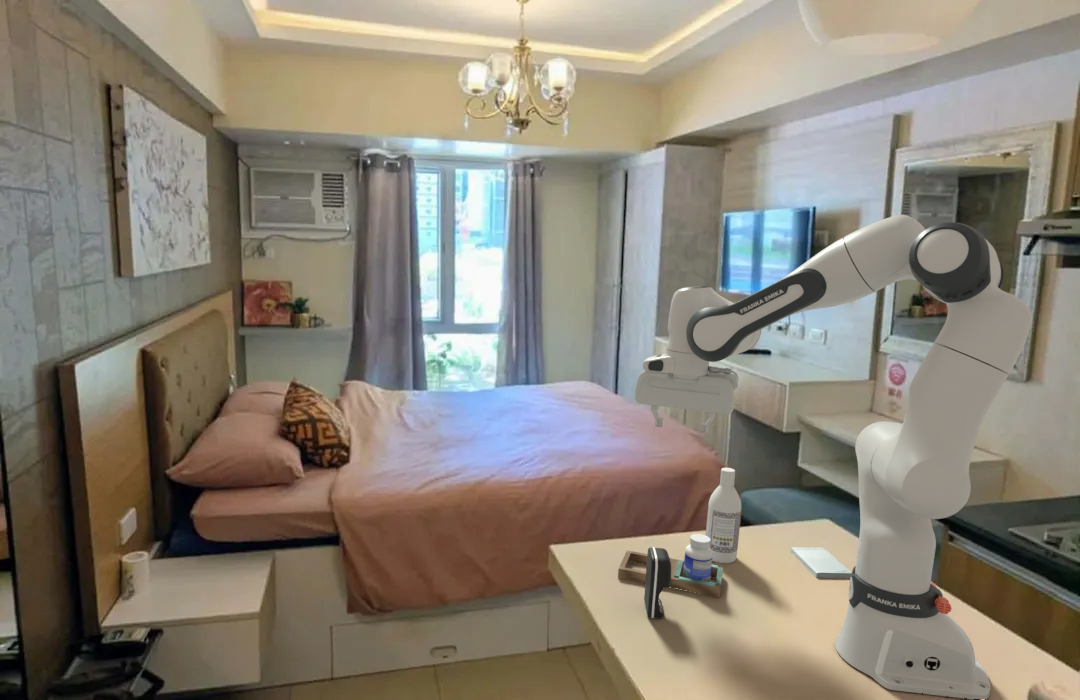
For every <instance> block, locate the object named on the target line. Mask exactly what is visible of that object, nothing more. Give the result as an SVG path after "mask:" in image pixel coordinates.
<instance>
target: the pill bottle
mask: <svg viewBox="0 0 1080 700" xmlns="http://www.w3.org/2000/svg"><path fill="white" fill-rule="evenodd" d="M710 543H711V539H710V538H709V537H708V536H706V534H701V533H694V534H691V535H690V536H689V544H688V545H687V546H686V547H685V549H684V558H683V561H684V569H683V572H682V577H685V578H690V579H695V580H701V581H706V582H711V577H710V575H711V566H712V565H713V564H712V563H713V561H712V557H713V552H712V550H711V548H709V547H710Z"/></svg>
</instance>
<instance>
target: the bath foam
mask: <svg viewBox="0 0 1080 700" xmlns="http://www.w3.org/2000/svg"><path fill="white" fill-rule="evenodd" d="M735 477H736V470H735V469H734V468H731V467H722V468H721V470H720V477H719V478H720V479H719V481H720V482H719V485H718V486H717V487H716V488H715V489H714V490H713V492H712V493H711V495H710V498H709V500H708V504H707V505H708V506H707V516H706V528H705V535H706V536H708V537H709V538H710V539H711V543H710V547H709V548H711V550H712V552H713V557H712V562H715V563H720V564H731V563H733V562H735V561H736V559H737V555H738V548H739V539H740V538H739V536H740V527H741V516H742V501H741V498H740V495H739V494H738V491H737V490H736V488H735V479H736V478H735Z"/></svg>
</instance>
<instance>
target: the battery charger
mask: <svg viewBox="0 0 1080 700" xmlns="http://www.w3.org/2000/svg"><path fill="white" fill-rule="evenodd" d="M647 554H648V555H647V565H646V570H645V571H646V582H645V583H644V584H645V585H644V586H645V587H644V595H643V596H644V597H643V598H644V599H643V601H644V605H645V611H646V615H647V618H650V619H663V618H664V617H665V609H664V606H663V602H662V599H661V598H660V594H661V593H662V592H663V591H664V589H670V588H669V587H670V585H671V562H670V558H671V557H670V555H669V553H668V550H667V549H665V548H662V547H655V546H651V547H648V548H647Z"/></svg>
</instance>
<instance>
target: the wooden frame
mask: <svg viewBox="0 0 1080 700" xmlns="http://www.w3.org/2000/svg"><path fill="white" fill-rule="evenodd" d="M647 555H648V553H643V552H639V551H633V550H628V549H627V550H626V552H625V554H624V556H623V558H622V560H621V562H620V565H619V567H618V570H617V571H618V572H617V573H618V574H617V579H623V580H626V581H631V582H636V583H642V584H645V582H646V570H640V569H634V568H630V567H629V565H630V564H631V563H633V564H634V563H635V564H640V565H645V566H647ZM669 558H670V562H671V585H670V587H671V588H670V589H672V588H678V589H682V590H687V591H691V592H690V593H692V592H696V593H695V594H697V593H700V594H699V595H703V594H704V596H708V595H709V596H708V597H712V598H713V597H714V598H718V597H719V598H718V599H720V596H721V588H722V582H723V575H724V573H723V571H724V568H723V567H720V566H719V565H716V564H712V566H711V575H710V578H713V579H715V582H712V581H710V582H706V581H701V580H695V579H690V578H685V577H683V572H682V571H683V569H684V560H682V559H677V558H671V557H669ZM682 590H681V591H682ZM687 591H686V592H687Z"/></svg>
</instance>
